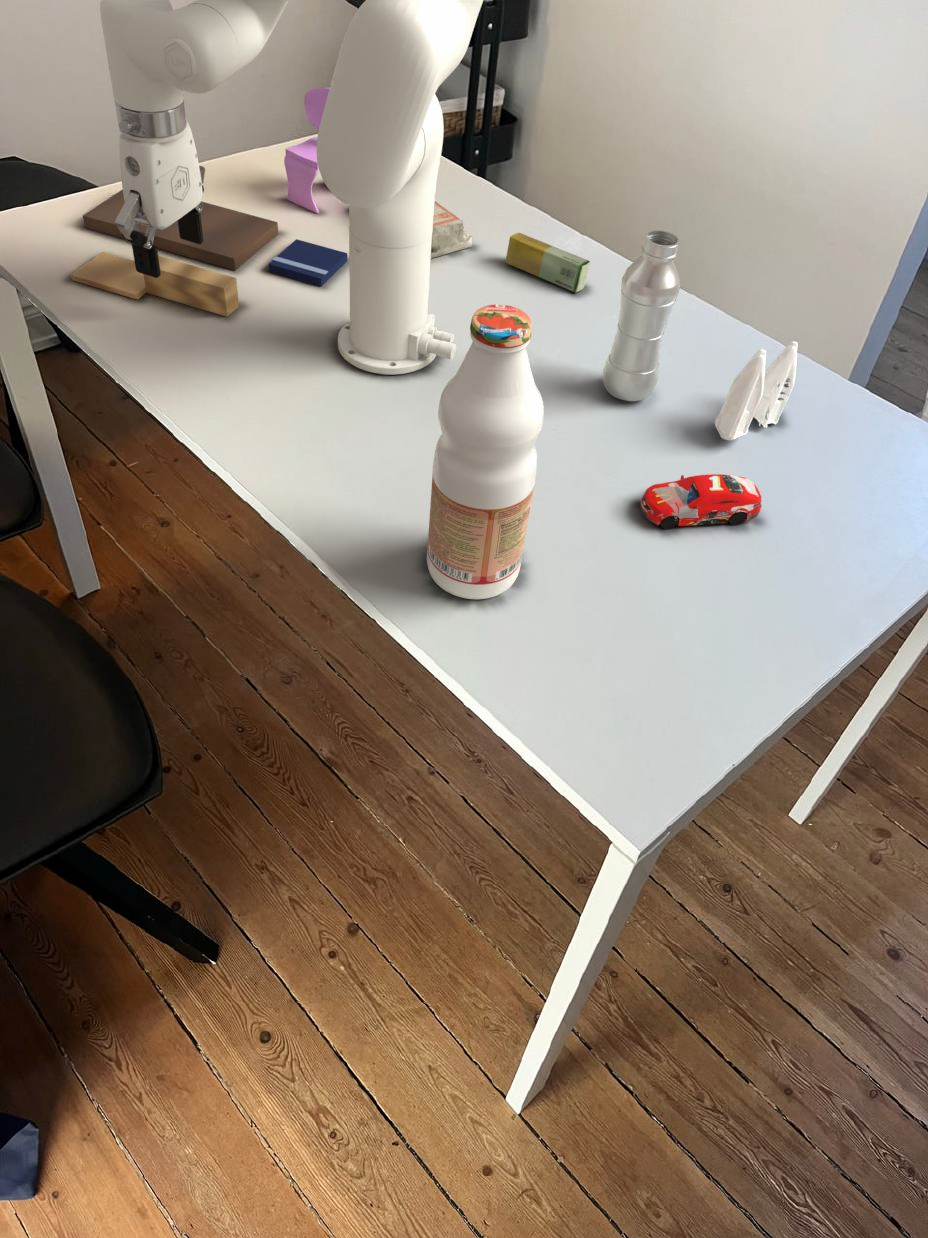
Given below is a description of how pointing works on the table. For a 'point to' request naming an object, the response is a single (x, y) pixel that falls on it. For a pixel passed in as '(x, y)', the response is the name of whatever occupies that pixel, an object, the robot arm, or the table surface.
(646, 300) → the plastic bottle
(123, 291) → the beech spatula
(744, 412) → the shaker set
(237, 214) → the walnut board
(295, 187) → the toy chair
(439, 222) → the packaged product
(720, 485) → the race car
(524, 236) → the medication box
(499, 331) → the fruit juice
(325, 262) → the navy tea towel
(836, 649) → the table surface
